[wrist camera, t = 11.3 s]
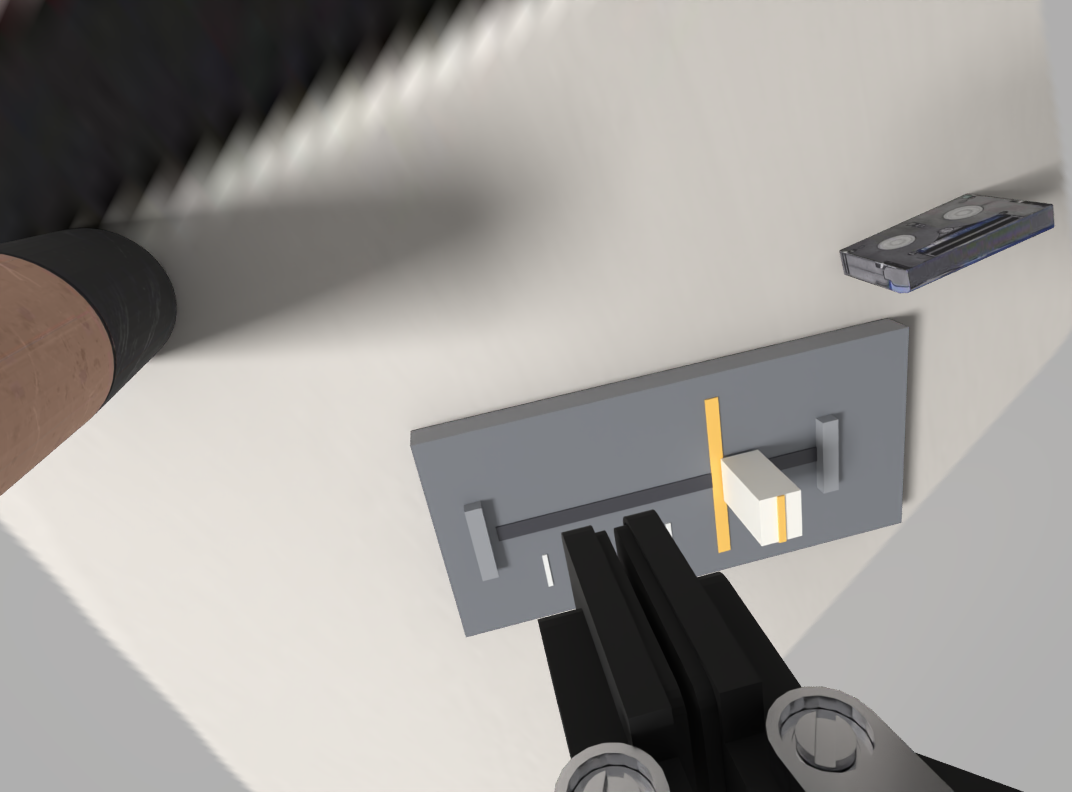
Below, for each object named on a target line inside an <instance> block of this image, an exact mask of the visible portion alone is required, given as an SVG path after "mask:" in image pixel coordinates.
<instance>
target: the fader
mask: <svg viewBox="0 0 1072 792" xmlns="http://www.w3.org/2000/svg"><path fill="white" fill-rule="evenodd" d="M721 470H722V481H723V493H724V501H725V502H726V503H727V505H728V506H729V507H730V508H731V509H732V511H733V512H734V513H735V514H736V516H737V517H738V518H739V519H740V520H741V522H742V523H743V524H744V525H745V526H746V528H747V529H748V530H749V531H750V533H751V534H752V535H753V536H754V537H755V539H756V540H757V541H758V542H759V543H760V545H761V546H765V545H769V544H772V543H776V542H779V543H782V542H786V541H787V540H788V539H791V538H795V537H799V536H802V508H801V490H800V489H799V488H798V487H797V486H796V485H795V484H794V483H793V482H792V481H791V480H790V479H789V478H788V477H787V476H785V475H784V474H783V473H782V472H781V471H780V470H779V469H778V468H777V467H776V466H775V465H774V464H773V463H772V462H771V461H770V460H769V459H767V458H766V457H765V456H764V455H763V454H762V453H761V452H760V451H759V450H754V451H750V452H746V453H742V454H738V455H734V456H730V457H726V458H722V459H721Z"/></svg>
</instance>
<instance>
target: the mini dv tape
mask: <svg viewBox="0 0 1072 792" xmlns="http://www.w3.org/2000/svg"><path fill="white" fill-rule="evenodd" d="M1052 228H1054V212H1053V204H1047V203H1039V202H1030V201H1022V200H1014V199H1005V198H997V197H989V196H981V195H972V194H965V195H963V196H960V197H958V198H956V199H954V200H951V201H949V202H947V203H945V204H943V205H940V206H938V207H936V208H934V209H931V210H929V211H927V212H925V213H922V214H920V215H918V216H916V217H913V218H911V219H909V220H907V221H904V222H902V223H900V224H898V225H896V226H893V227H891V228H889V229H887V230H884V231H882V232H880V233H878V234H875V235H873V236H871V237H869V238H866V239H864V240H862V241H860V242H858V243H855V244H853V245H851V246H849V247H846V248H844V249H842V250H840V255H841V260H842V265H843V270H844V274H845V275H848V276H851V277H853V278H856V279H859V280H862V281H865V282H868V283H871V284H874V285H877V286H880V287H883V288H886V289H889V290H892V291H895V292H898V293H909V292H911V291H913V290H915V289H918V288H920V287H922V286H924V285H927V284H929V283H931V282H933V281H936V280H938V279H940V278H942V277H944V276H947V275H949V274H951V273H953V272H956V271H958V270H960V269H962V268H965V267H967V266H969V265H971V264H973V263H976V262H978V261H980V260H982V259H985V258H987V257H989V256H991V255H994V254H996V253H998V252H1000V251H1002V250H1005V249H1007V248H1009V247H1011V246H1014V245H1016V244H1018V243H1020V242H1023V241H1025V240H1027V239H1029V238H1031V237H1034V236H1036V235H1038V234H1040V233H1043V232H1045V231H1047V230H1049V229H1052Z"/></svg>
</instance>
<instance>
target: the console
mask: <svg viewBox="0 0 1072 792" xmlns="http://www.w3.org/2000/svg"><path fill="white" fill-rule="evenodd" d="M908 342H909V327H908V326H905V325H903V324H901V323H898V322H896V321H893V320H891V319H888V318H886V319H882V320H878V321H874V322H869V323H865V324H861V325H857V326H852V327H848V328H844V329H840V330H836V331H831V332H827V333H823V334H819V335H814V336H810V337H806V338H802V339H798V340H793V341H789V342H785V343H781V344H776V345H772V346H768V347H764V348H760V349H755V350H751V351H747V352H743V353H738V354H734V355H730V356H726V357H722V358H717V359H713V360H709V361H705V362H700V363H696V364H692V365H688V366H684V367H679V368H675V369H671V370H667V371H663V372H658V373H654V374H650V375H646V376H641V377H637V378H633V379H629V380H625V381H620V382H616V383H612V384H608V385H603V386H599V387H595V388H591V389H587V390H582V391H578V392H574V393H570V394H565V395H561V396H557V397H553V398H549V399H544V400H540V401H536V402H532V403H527V404H523V405H519V406H515V407H511V408H506V409H502V410H498V411H494V412H489V413H485V414H481V415H477V416H473V417H468V418H464V419H460V420H456V421H451V422H447V423H443V424H439V425H435V426H430V427H426V428H422V429H418V430H414V431H411V440H410V446H411V450H412V453H413V457H414V460H415V464H416V467H417V470H418V474H419V477H420V481H421V484H422V488H423V491H424V495H425V498H426V501H427V505H428V508H429V512H430V515H431V519H432V522H433V525H434V529H435V532H436V536H437V539H438V543H439V546H440V549H441V553H442V556H443V560H444V563H445V567H446V570H447V573H448V577H449V580H450V584H451V587H452V591H453V594H454V597H455V601H456V604H457V608H458V611H459V615H460V618H461V621H462V625H463V628H464V632H465V635H466V637H469V636H473V635H477V634H481V633H484V632H488V631H492V630H496V629H500V628H503V627H507V626H511V625H515V624H519V623H522V622H526V621H530V620H534V619H537V618H541V617H545V616H549V615H553V614H556V613H560V612H564V611H568V610H572V609H575V608H576V607H575V602H574V597H573V592H572V587H571V582H570V577H569V573H568V568H567V563H566V558H565V553H564V548H563V543H562V537H561V532H565V531H569V530H573V529H577V528H581V527H585V526H589V525H591V526H592V527H593V529H594V531H595V533H596V532H600V531H603V530H605V531H606V532H607V534H608V536H609V539H610V541H611V543H612V545H613V547H614V549H615V551H616V554H617V549H616V543H615V537H614V528H615V527H619V526H623V517H624V516H628V515H632V514H636V513H640V512H644V511H648V510H652V509H654V510H655V511H656V512H657V514H658V515H659V517H660V518H661V520H662V522H663V523H664V525H665V527H666V528H667V530H668V531H669V533H670V535H671V536H672V538H673V539H674V541H675V543H676V544H677V546H678V547H679V549H680V551H681V552H682V554H683V555H684V557H685V559H686V560H687V562H688V564H689V565H690V567H691V568H692V570H693V572H694V573H695V575H696V576H701V575H704V574H708V573H712V572H716V571H720V570H723V569H727V568H731V567H735V566H739V565H742V564H746V563H750V562H754V561H758V560H761V559H765V558H769V557H773V556H777V555H780V554H784V553H788V552H792V551H796V550H799V549H803V548H807V547H811V546H815V545H818V544H822V543H826V542H830V541H834V540H837V539H841V538H845V537H849V536H853V535H856V534H860V533H864V532H868V531H871V530H875V529H879V528H883V527H887V526H890V525H894V524H898V523H901V521H902V495H903V470H904V444H905V419H906V393H907V368H908ZM754 450H759V451H760V452H761V453H762V454H763V455H764V456H765V457H766V458H767V459H769V460H770V461H771V462H772V463H773V464H774V465H775V466H776V467H777V468H778V469H779V470H780V471H781V472H782V473H783V474H784V475H785V476H787V477H788V478H789V479H790V480H791V481H792V482H793V483H794V484H795V485H796V486H797V487H798V488H799V489H800V490H801V508H802V536H799V537H795V538H791V539H788V540H787V541H786V542H782V543H779V542H776V543H772V544H769V545H765V546H761V545H760V543H759V542H758V541H757V540H756V539H755V537H754V536H753V535H752V534H751V533H750V531H749V530H748V529H747V528H746V526H745V525H744V524H743V523H742V522H741V520H740V519H739V518H738V517H737V516H736V514H735V513H734V512H733V511H732V509H731V508H730V507H729V506H728V505H727V503H726V502H725V501H724V493H723V481H722V470H721V459H722V458H726V457H730V456H734V455H738V454H742V453H746V452H750V451H754ZM617 556H618V555H617Z"/></svg>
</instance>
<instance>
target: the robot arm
mask: <svg viewBox="0 0 1072 792" xmlns="http://www.w3.org/2000/svg"><path fill="white" fill-rule="evenodd" d="M561 537H562V543H563V548H564V553H565V558H566V563H567V568H568V573H569V577H570V582H571V587H572V592H573V597H574V602H575V607H576V609H575V610H572V611H568V612H564V613H560V614H556V615H553V616H549V617H545V618H541V619H538V623H539V627H540V632H541V636H542V640H543V645H544V649H545V653H546V657H547V662H548V666H549V670H550V674H551V679H552V683H553V687H554V691H555V695H556V699H557V704H558V708H559V712H560V716H561V720H562V724H563V728H564V732H565V737H566V741H567V745H568V749H569V753H570V757H571V760H570V761H569V762H568V764H567V765H566V766H565V767H564V768H563V769H562V771H561V774H560V776H559V778H558V780H557V782H556V784H555V792H1022V791H1020V790H1017V789H1014V788H1012V787H1009V786H1006V785H1003V784H1001V783H998V782H995V781H992V780H990V779H987V778H984V777H981V776H979V775H976V774H973V773H970V772H967V771H965V770H962V769H959V768H956V767H954V766H951V765H948V764H945V763H943V762H940V761H937V760H934V759H932V758H929V757H926V756H923V755H920V754H918V753H915V752H914V751H913V750H912V749H911V748H910V747H909V746H908V745H907V744H906V743H905V742H904V741H903V740H901V738H900V737H899V736H898V735H897V734H896V733H895V732H893V730H892V729H891V728H890V727H889V726H888V725H887V724H886V723H885V722H884V721H883V720H881V718H880V717H879V716H877V714H876V713H875V712H874V711H872V710H871V709H870V708H869V707H867V706H866V705H865V704H863V703H862V702H861V701H860V700H858V699H857V698H855V697H853V696H850V695H848V694H846V693H844V692H842V691H840V690H835V689H830V688H826V687H801V686H800V684H799V683H798V681H797V680H796V678H795V677H794V675H793V674H792V672H791V671H790V670H789V668H788V667H787V665H786V664H785V662H784V661H783V659H782V658H781V656H780V655H779V653H778V652H777V651H776V649H775V648H774V646H773V645H772V643H771V642H770V640H769V639H768V637H767V636H766V635H765V633H764V632H763V630H762V629H761V627H760V626H759V624H758V623H757V621H756V620H755V619H754V617H753V616H752V614H751V613H750V611H749V610H748V608H747V607H746V605H745V604H744V603H743V601H742V600H741V598H740V597H739V595H738V594H737V592H736V591H735V589H734V588H733V586H732V585H731V584H730V582H729V581H728V579H727V578H726V577H725V576H724V575H723V574H722V573H720V572H716V573H712V574H708V575H704V576H701V577H697V576H696V575H695V573H694V572H693V570H692V568H691V567H690V565H689V564H688V562H687V560H686V559H685V557H684V555H683V554H682V552H681V551H680V549H679V547H678V546H677V544H676V543H675V541H674V539H673V538H672V536H671V535H670V533H669V531H668V530H667V528H666V527H665V525H664V523H663V522H662V520H661V518H660V517H659V515H658V514H657V512H656V511H655V510H654V509H652V510H648V511H644V512H640V513H636V514H632V515H628V516H624V517H623V526H619V527H615V528H614V537H615V543H616V549H617V554H616V551H615V549H614V547H613V545H612V543H611V541H610V539H609V536H608V534H607V532H606V531H605V530H603V531H600V532H596V533H595V531H594V529H593V527H592V526H591V525H589V526H585V527H581V528H577V529H573V530H569V531H565V532H561ZM617 555H618V556H617Z"/></svg>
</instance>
